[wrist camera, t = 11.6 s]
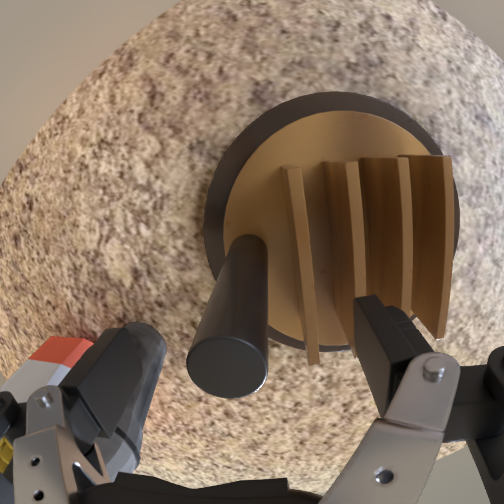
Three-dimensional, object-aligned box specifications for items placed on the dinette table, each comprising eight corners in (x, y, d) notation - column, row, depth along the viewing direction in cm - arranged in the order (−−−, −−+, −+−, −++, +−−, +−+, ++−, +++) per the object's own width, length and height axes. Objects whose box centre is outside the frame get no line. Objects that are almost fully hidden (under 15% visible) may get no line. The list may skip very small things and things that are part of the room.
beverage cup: (177, 384, 26) (110, 579, 7) (107, 362, 26) (5, 524, 7) (186, 320, 24) (83, 559, 5) (106, 297, 24) (-49, 471, 5)
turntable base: (231, 73, 19) (228, 67, 17) (469, 139, 19) (479, 139, 17) (194, 321, 24) (190, 331, 23) (407, 350, 24) (413, 360, 23)
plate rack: (438, 110, 17) (575, 92, 5) (440, 317, 21) (524, 418, 9) (205, 130, 18) (112, 91, 6) (246, 351, 23) (230, 495, 11)
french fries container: (99, 324, 25) (-17, 470, 8) (134, 410, 28) (73, 547, 11) (63, 323, 25) (-51, 445, 8) (99, 405, 28) (32, 527, 11)
